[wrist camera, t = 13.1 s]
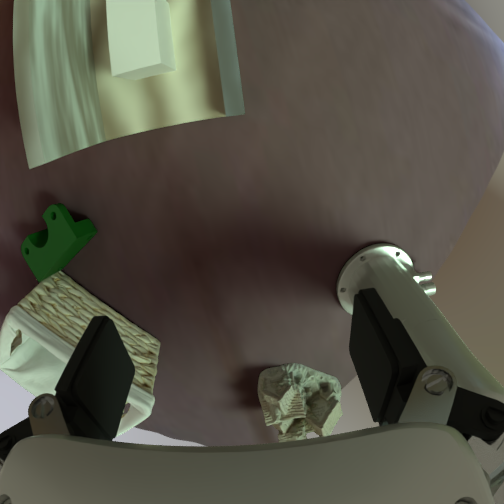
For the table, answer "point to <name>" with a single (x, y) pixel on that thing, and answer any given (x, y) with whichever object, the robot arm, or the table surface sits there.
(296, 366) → the ceramic cottage
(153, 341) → the storage basket
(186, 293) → the table surface
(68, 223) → the clamp
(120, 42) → the mini cabinet
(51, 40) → the curved railed panel
